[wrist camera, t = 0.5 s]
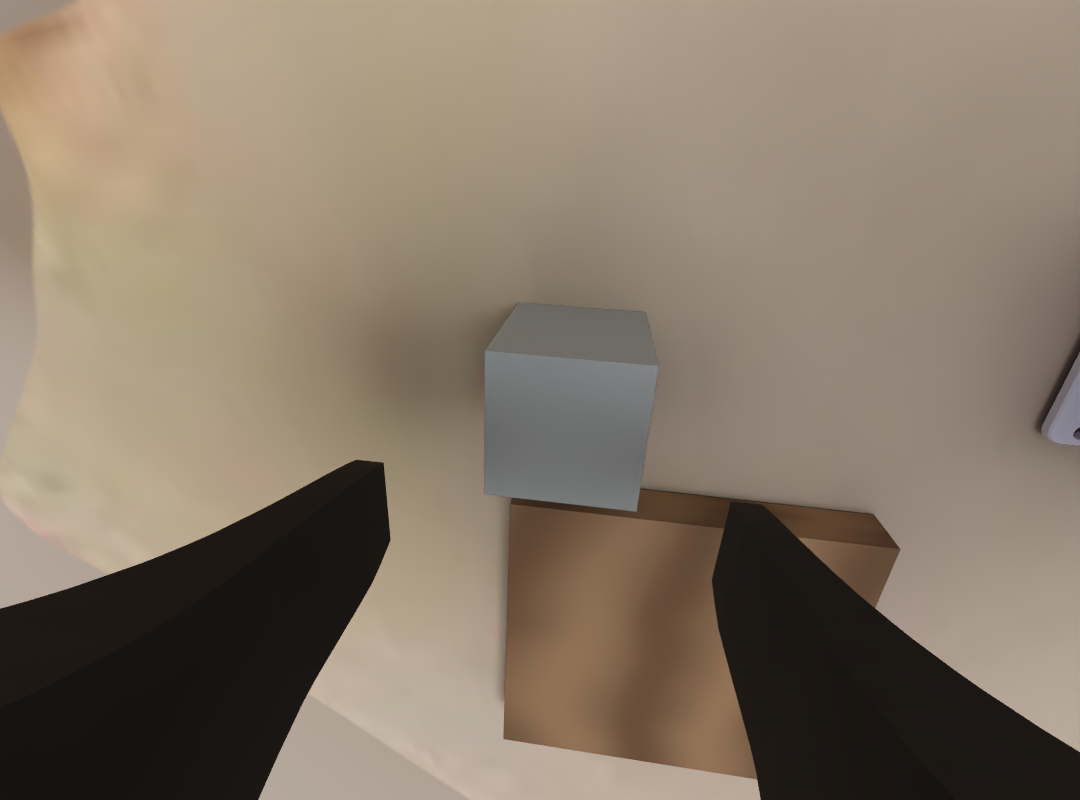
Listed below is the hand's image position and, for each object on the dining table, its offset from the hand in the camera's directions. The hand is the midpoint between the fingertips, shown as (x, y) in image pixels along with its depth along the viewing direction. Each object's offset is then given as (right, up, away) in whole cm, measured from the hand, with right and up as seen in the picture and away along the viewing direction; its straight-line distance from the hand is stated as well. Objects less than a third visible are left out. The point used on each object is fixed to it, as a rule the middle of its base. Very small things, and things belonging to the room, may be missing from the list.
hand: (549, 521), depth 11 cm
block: (+1, +4, +8) cm, 9 cm away
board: (+6, -8, +13) cm, 16 cm away
